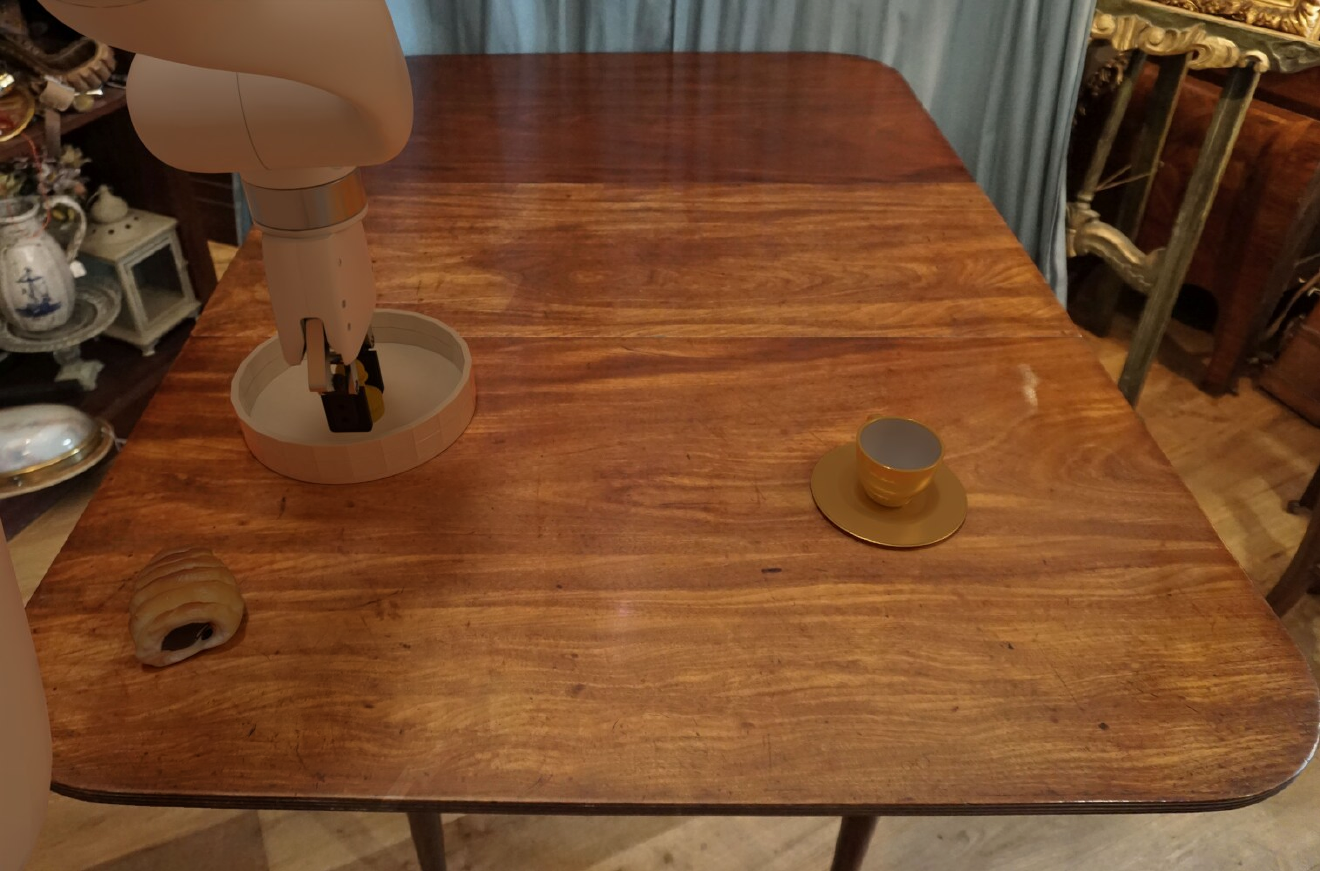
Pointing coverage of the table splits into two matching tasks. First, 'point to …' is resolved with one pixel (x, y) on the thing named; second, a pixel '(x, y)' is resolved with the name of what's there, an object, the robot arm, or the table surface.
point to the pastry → (183, 605)
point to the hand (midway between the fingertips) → (358, 409)
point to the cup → (891, 484)
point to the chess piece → (367, 391)
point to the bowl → (407, 435)
